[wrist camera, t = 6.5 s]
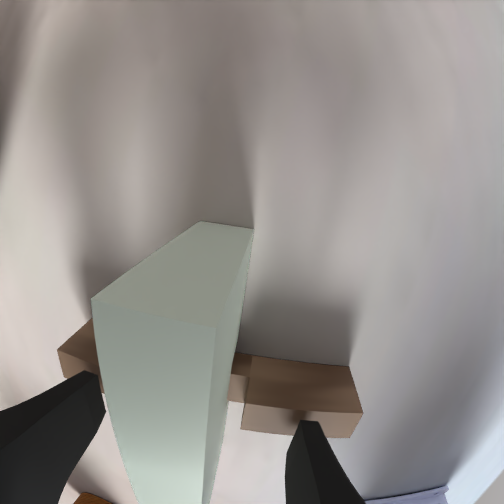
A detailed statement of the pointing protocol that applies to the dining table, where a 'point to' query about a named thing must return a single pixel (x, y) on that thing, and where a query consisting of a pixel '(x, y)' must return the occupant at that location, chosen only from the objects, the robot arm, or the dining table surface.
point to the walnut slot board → (259, 389)
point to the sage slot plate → (173, 359)
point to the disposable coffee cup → (90, 499)
